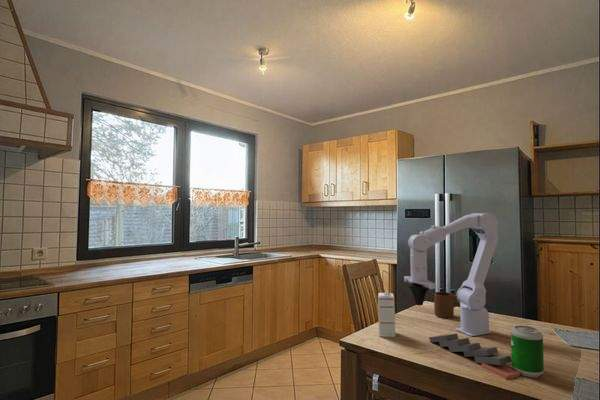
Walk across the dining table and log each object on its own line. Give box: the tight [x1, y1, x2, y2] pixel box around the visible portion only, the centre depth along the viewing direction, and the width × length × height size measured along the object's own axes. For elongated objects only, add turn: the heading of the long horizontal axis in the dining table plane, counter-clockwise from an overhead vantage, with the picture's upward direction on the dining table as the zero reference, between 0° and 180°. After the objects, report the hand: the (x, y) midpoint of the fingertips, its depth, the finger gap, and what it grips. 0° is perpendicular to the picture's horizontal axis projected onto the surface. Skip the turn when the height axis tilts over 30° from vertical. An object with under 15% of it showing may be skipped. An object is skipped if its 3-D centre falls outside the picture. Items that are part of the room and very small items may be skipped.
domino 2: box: [438, 337, 471, 348], centre depth 115 cm, size 5×2×8 cm
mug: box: [433, 291, 460, 319], centre depth 150 cm, size 12×8×9 cm, turn 92°
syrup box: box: [377, 292, 396, 338], centre depth 129 cm, size 6×6×14 cm
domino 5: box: [473, 354, 512, 365], centre depth 103 cm, size 5×2×8 cm
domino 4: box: [462, 346, 499, 358], centre depth 107 cm, size 5×2×8 cm
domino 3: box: [448, 342, 482, 353], centre depth 111 cm, size 5×2×8 cm
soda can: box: [510, 325, 545, 379], centre depth 99 cm, size 8×8×12 cm
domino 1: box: [428, 333, 459, 343], centre depth 119 cm, size 5×2×8 cm
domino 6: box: [480, 363, 520, 380], centre depth 100 cm, size 5×2×8 cm
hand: (419, 304), depth 130 cm, fingers closed
